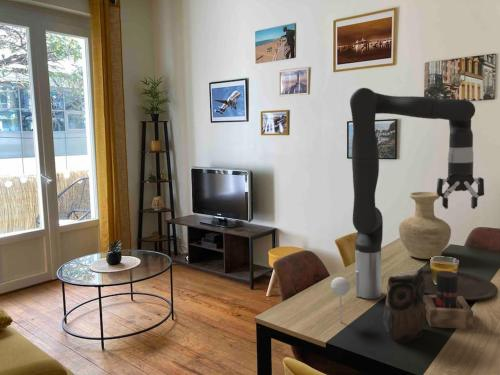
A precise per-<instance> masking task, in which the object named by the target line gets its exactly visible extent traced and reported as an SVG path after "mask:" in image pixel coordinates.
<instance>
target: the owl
mask: <svg viewBox="0 0 500 375" xmlns="http://www.w3.org/2000/svg"><path fill="white" fill-rule="evenodd" d="M425 283H426V280H425V278H424V275H423V267H417V268H414V269H407V270H404V271H401V272H398V273H396V274H393V275H390V276H389V277H388V279H387V286H386V291H387V293H386V298H385V303H384V304H385V305H384V312H383V317H382V319H383V325H384V328H385V331H386V333H387V335H388V338H389V340H391V341H393V342H396V343H409V342H411V340H415V338H416V339H417V338H418V337H419V336H421V337H422V335H423V328H424V324H425V321H426V320H427V318H426V312H427V311H426V308H425V305H426V304H425V303H424V301H423V296H424V295H425V291H426V284H425Z"/></svg>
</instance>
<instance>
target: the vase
mask: <svg viewBox="0 0 500 375" xmlns="http://www.w3.org/2000/svg"><path fill="white" fill-rule="evenodd" d="M409 197H410V199H412V200H414V202H415V207H414V208H415V212H414V215H413V216H410V217H408V218H406V219H404V220H403V221H401V223H400V224H399V226H398V233H399V234H398V235H399V237H400V241H401V243H402V244H403V246H404V247H405V249H406V251H407V254H408V255H409V256H411V257H413V258H416V259H423V260H431V259H430V258H431V257H434V256H440V257H441V256H442V253H443V250H445V248H447V246H448V244H449V242H450V239H451V235H452V229H451V226H450V225H449V223H448V222H446V221H444V220H443V219H441V218H439V217H437V216H436V215H435V211H434V210H435V209H434V208H435V201H436V200H439V199H440V197H441V196H438V195H437V192H432V191H416V192H411V193H409Z"/></svg>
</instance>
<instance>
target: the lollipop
mask: <svg viewBox="0 0 500 375" xmlns="http://www.w3.org/2000/svg"><path fill="white" fill-rule="evenodd" d="M350 287H351V286H350V282H349V281H348V280H347V279H346V278H345V277H341V276H338V277H335V278H333V280H332V281H331V283H330V289H331V291H332V293H333V294H334V295H336V296H338V297H339V322H340V323H342V296H346V295H347V294H348V293H349V291H350Z"/></svg>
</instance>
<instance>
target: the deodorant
mask: <svg viewBox="0 0 500 375" xmlns="http://www.w3.org/2000/svg"><path fill="white" fill-rule="evenodd" d="M458 277H459V276H458V273H456V272H454V271H448V270H440V271H437V272H436V287H435V288H436V293H435V295H436V308H457V296H458Z"/></svg>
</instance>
